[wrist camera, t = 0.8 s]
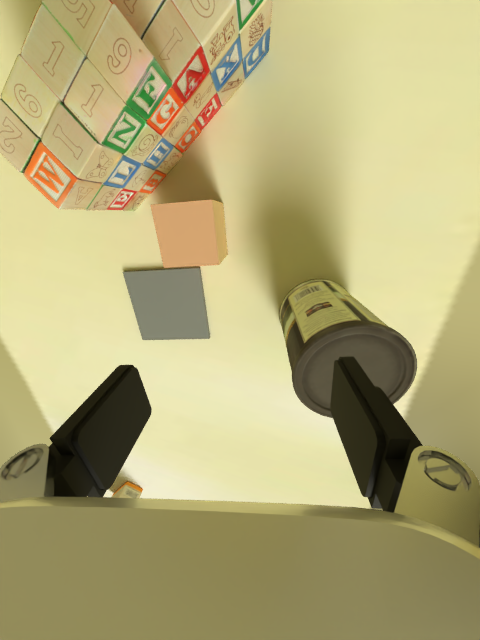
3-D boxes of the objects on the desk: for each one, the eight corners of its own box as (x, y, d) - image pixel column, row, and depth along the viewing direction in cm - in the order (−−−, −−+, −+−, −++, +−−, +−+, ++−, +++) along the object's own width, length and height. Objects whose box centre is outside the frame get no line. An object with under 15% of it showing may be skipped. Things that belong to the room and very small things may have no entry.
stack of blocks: (227, -23, 19) (184, -345, 8) (270, 52, 21) (282, -130, 10) (95, 168, 26) (-24, 134, 15) (135, 213, 28) (55, 210, 17)
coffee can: (316, 355, 35) (349, 435, 22) (265, 319, 33) (268, 383, 20) (369, 307, 31) (446, 371, 18) (314, 262, 29) (357, 299, 16)
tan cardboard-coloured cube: (175, 207, 27) (150, 204, 21) (223, 203, 27) (212, 199, 20) (184, 257, 30) (163, 267, 24) (227, 254, 29) (219, 264, 23)
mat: (124, 271, 31) (122, 272, 31) (200, 267, 30) (199, 268, 30) (144, 338, 36) (142, 340, 36) (210, 337, 35) (209, 338, 34)
